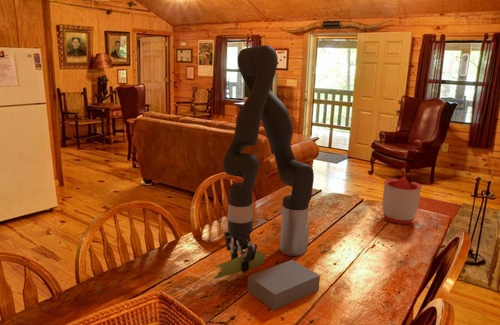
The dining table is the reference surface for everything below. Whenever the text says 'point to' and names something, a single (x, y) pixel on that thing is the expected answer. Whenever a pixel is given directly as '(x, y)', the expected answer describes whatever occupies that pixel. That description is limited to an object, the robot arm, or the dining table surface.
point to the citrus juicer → (400, 200)
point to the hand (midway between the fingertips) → (239, 267)
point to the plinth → (283, 284)
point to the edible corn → (239, 265)
